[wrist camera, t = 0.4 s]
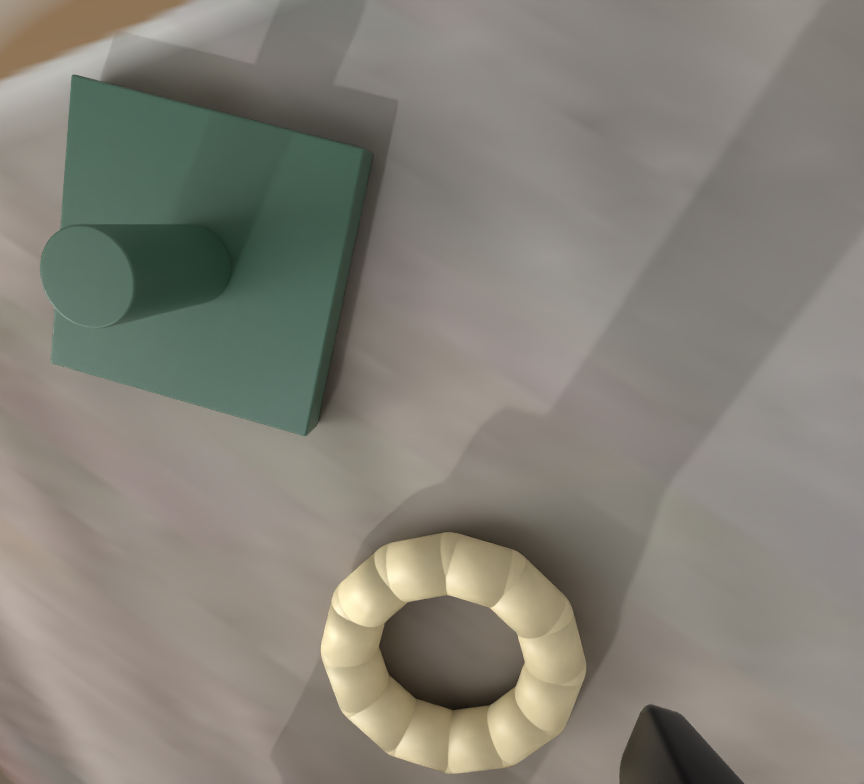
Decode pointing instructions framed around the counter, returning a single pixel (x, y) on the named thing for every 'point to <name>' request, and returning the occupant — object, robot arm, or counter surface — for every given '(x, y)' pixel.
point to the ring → (431, 724)
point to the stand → (202, 253)
